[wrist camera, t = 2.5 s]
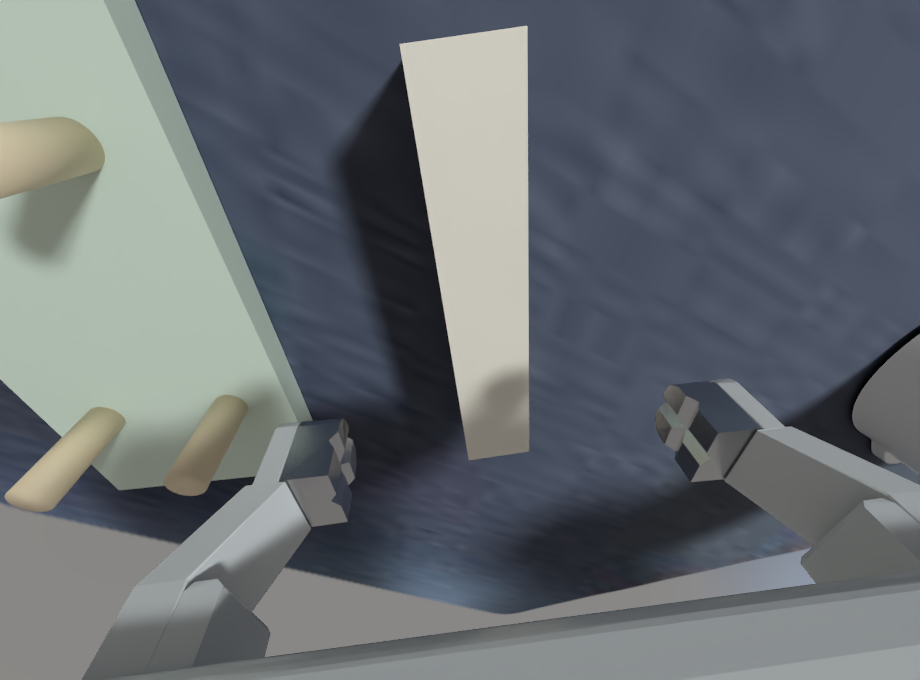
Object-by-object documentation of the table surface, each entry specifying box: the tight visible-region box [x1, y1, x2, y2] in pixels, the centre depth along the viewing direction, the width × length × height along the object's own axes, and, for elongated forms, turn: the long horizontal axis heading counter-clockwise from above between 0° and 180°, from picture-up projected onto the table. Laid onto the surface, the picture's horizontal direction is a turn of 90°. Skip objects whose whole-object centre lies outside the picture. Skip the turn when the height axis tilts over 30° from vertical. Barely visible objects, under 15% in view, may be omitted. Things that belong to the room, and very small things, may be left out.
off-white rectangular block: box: [400, 26, 529, 460], centre depth 15 cm, size 16×3×5 cm, turn 7°
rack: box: [0, 0, 313, 512], centre depth 14 cm, size 24×12×6 cm, turn 3°
